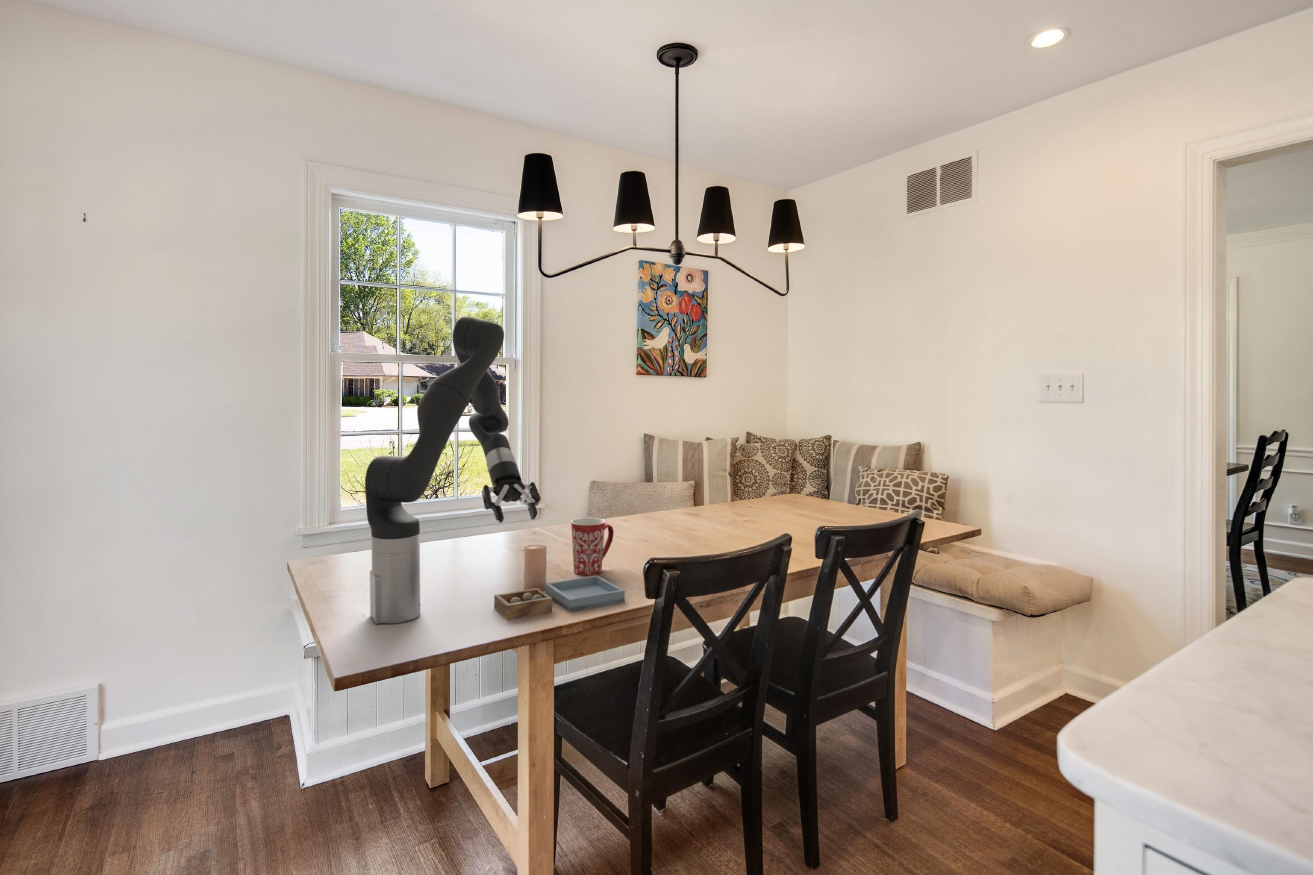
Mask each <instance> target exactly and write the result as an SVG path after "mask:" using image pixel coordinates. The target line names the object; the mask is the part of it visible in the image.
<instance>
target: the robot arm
mask: <svg viewBox="0 0 1313 875" xmlns="http://www.w3.org/2000/svg"><path fill="white" fill-rule="evenodd" d="M451 336H452V337H451V338H452V345H453V349H454V352H455V355H456V356H457V359H458V362H459V365H457V366H455V367H453V368H451V369H449V370H447V371H445V372H443V373H442V374H440V375H438V376H437V377H435V378H434V379H433V380H432V381H431V382H430V384H429V385H428V387H427V389H426V390H425V392H424V394H423V395H422V397H421V398H420V400H419V401H418V404H417V411H416V414H417V415H416V416H417V423H418V429H419V430H418V431H419V432H418V438H417V440H416V441H415V444H414V446H412V447H413V448H412V449H411V450H410V452H409V453H408V455H406V456H398V455H396V456H395V455H380V456H377V457H375V458H373V459H372V460H371V461H370V463H369V464H368V466H367V468H366V472H365V480H364V491H365V493H364V494H365V505H366V506H365V507H366V518H367V523H368V525H369V526H370V531H371V532H370V533H371V570H369V594H370V595H369V598H370V600H369V603H370V604H369V605H370V606H369V610H370V613H369V614H370V617H371V619H372V621H373V622H374V624H375V625H378V624H399V623H405V622H409V621H412V620H415V619H417V618H418V617H420V615H421V605H422V604H421V546H420V545H421V543H420V542H421V538H420V537H421V536H420V535H421V533H420V532H421V528H420V527H421V526H420V525H421V524H420V520H419V519H418V518H417V517H416V516H414V515H412V514H411V513H409V512H408V511H407V510H406V509H405V508H404V507H403V505H402V503H408V504H409V503H415V502H417V501H418V500H419V499H421V497H423V495H424V494H425V492H426V490H427V489H428V486H429V485H430V483H431V482H430V481H431V480H432V478H433V475H434V473H435V471H436V468H437V466H438V463H439V460H440V458H441V455H442V453H443V452H444V449H445V447H446V444H447V442H448V441H449V439H450V437H451V436H452V433H453V431H454V430H455V427H456V426H457V424H458V422H459V421H460V419H461V417H462V415H463V414H464V412H465V410H466V408H467V407H468V404H469V403H470V400H471V403H472V408H473V410H474V412H473V413H472V414H471V415H470V417H469V419H468V427H469V429H470V431H471V432H472V433H471V434H472V435H473V436H474V437H475V438H476V440H477V441H478V442H479V444H480V446H481V448H482V450H483V454H484V457H485V461H486V468H487V472H488V475H489V479H490V482H491V485H492V486H489V485H488V484H484V485H483V488H482V490H481V494H482V495H481V496H482V501H483V505H484V509H485V510H487V511H488V510H492V512H493V514H494V518H495V520H496V522H497V521H498V523H503V521H504V520H505V518H504V513H503V510H502V509H503V508H502V506H501V504H502V502H505V503H510V502H519V503H521V504H522V505H524V506H526V507H527V511H528V513H529V515H530V520H535V519H536V517H537V515H538V509H537V506H538V505H539V504H540V502H541V499H542V497H541V496H540V492H539V491H538V488H537V485H536V483H535V482H534V481H531V482H530V483H529V484H524V483H523V482H522V477H521V474H520V471H519V468H518V465H517V460H516V458H515V456H514V454H513V452H512V449H511V446H510V442H509V439H508V438H507V436H506V435H504V434H503V433H504V432H505V431H507V429H508V428H509V422H510V421H509V418H508V415H507V413H506V411H505V410H504V409H503V407H502V404H501V403H500V399H499V388H498V386H497V385H498V384H497V382H496V381H495V379H494V377H493V376H492V374H491V373H490V372H489V369H490V367H491V366H492V364H493V363H494V361H495V359H496V358H497V357H498V354H499V353H500V352H501V349H502V347H503V344H504V340H505V331H504V328H503V327H502V326H501V325H500V324H499V323H496V322H494V321H490V320H486V319H483V318H482V319H481V318H478V317H474V316H473V317H472V316H460V317H459V318H458V319H457V320H456V322H455V324H454V326H453V330H452V335H451ZM492 493H493V494H494V495H495V496H497V498H496V500H495V501H492V496H491V495H492Z"/></svg>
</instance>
